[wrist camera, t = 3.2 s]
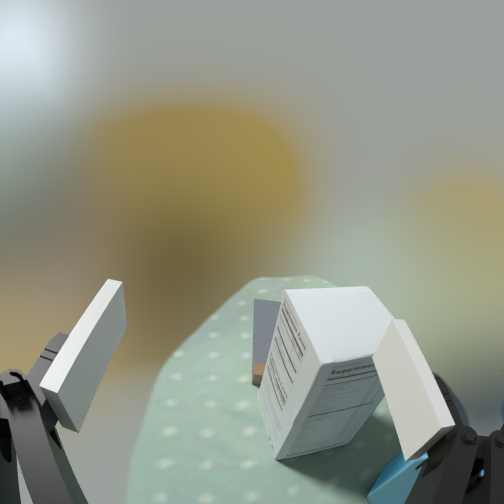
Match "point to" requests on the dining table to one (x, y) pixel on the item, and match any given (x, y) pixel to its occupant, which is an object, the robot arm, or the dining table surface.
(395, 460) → the data package
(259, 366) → the topple mat
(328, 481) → the dining table surface
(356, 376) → the supplement box
